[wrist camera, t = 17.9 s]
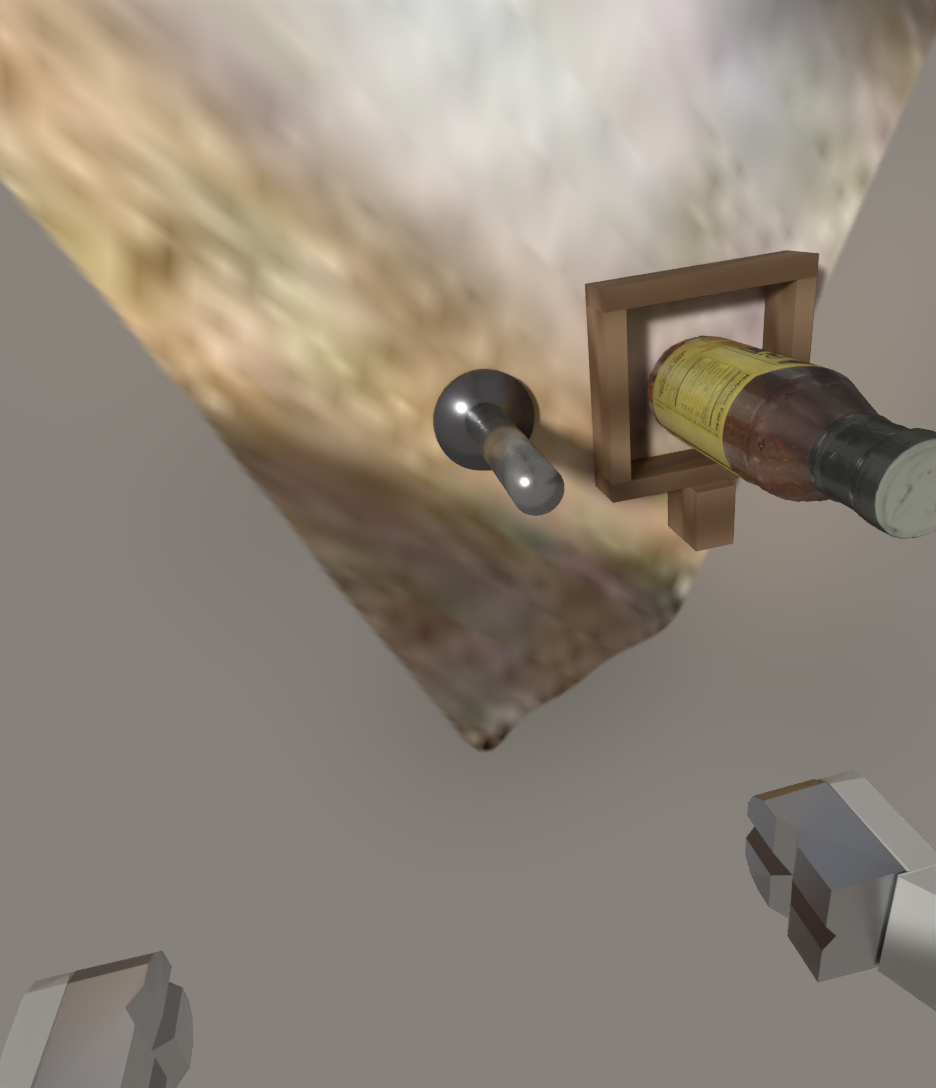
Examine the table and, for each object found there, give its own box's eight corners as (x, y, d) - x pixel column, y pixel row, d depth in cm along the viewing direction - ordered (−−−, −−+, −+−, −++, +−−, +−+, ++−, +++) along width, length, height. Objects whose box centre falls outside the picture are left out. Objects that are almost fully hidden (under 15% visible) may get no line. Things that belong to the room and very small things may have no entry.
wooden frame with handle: (585, 283, 40) (611, 291, 37) (786, 250, 42) (830, 254, 38) (598, 540, 48) (621, 567, 44) (769, 504, 49) (805, 527, 45)
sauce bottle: (752, 382, 45) (1034, 497, 27) (676, 451, 46) (900, 604, 28) (697, 304, 42) (973, 376, 24) (618, 379, 43) (826, 500, 25)
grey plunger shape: (425, 378, 41) (464, 439, 30) (526, 360, 41) (599, 414, 31) (441, 475, 43) (481, 563, 33) (535, 457, 44) (605, 537, 34)
